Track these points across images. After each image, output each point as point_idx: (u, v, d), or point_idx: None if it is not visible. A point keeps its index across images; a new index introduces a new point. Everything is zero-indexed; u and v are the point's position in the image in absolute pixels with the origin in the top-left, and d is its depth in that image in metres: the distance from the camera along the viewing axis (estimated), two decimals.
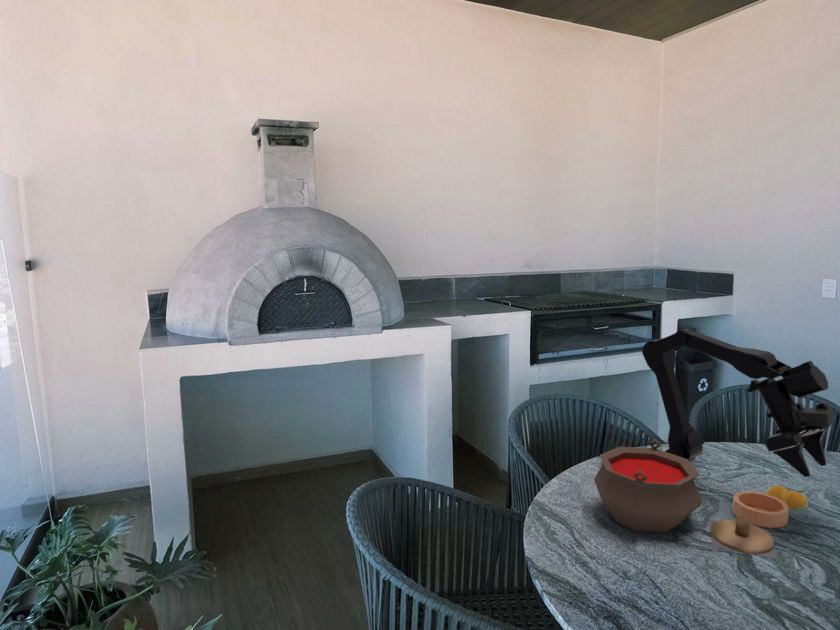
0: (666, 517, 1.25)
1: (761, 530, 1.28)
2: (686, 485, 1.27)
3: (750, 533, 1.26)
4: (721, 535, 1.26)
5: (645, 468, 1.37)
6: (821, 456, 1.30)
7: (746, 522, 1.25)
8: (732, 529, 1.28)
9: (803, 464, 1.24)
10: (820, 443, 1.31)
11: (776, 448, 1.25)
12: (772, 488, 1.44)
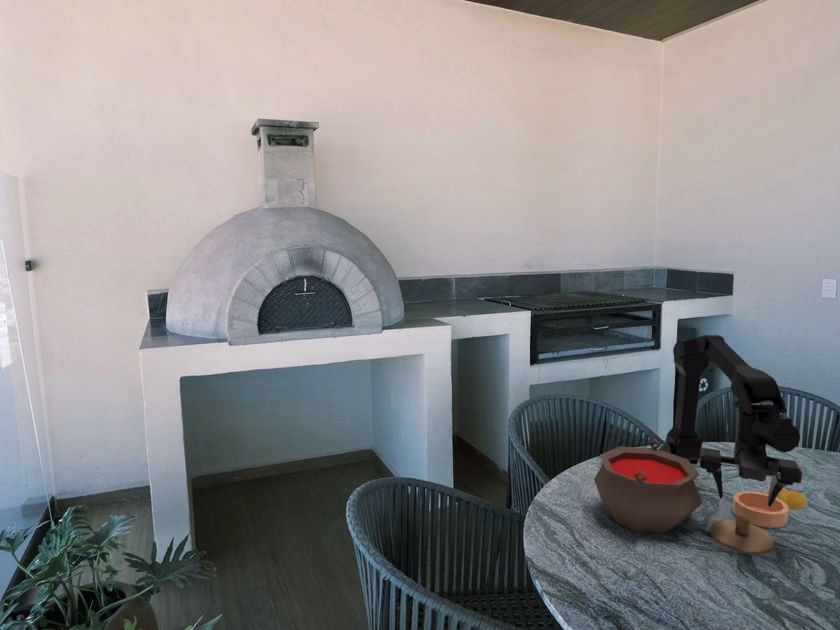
0: (666, 517, 1.25)
1: (761, 530, 1.28)
2: (686, 485, 1.27)
3: (750, 533, 1.26)
4: (721, 535, 1.26)
5: (645, 468, 1.37)
6: (769, 498, 1.23)
7: (746, 522, 1.25)
8: (732, 529, 1.28)
9: (717, 487, 1.26)
10: (775, 489, 1.21)
11: (699, 459, 1.28)
12: None
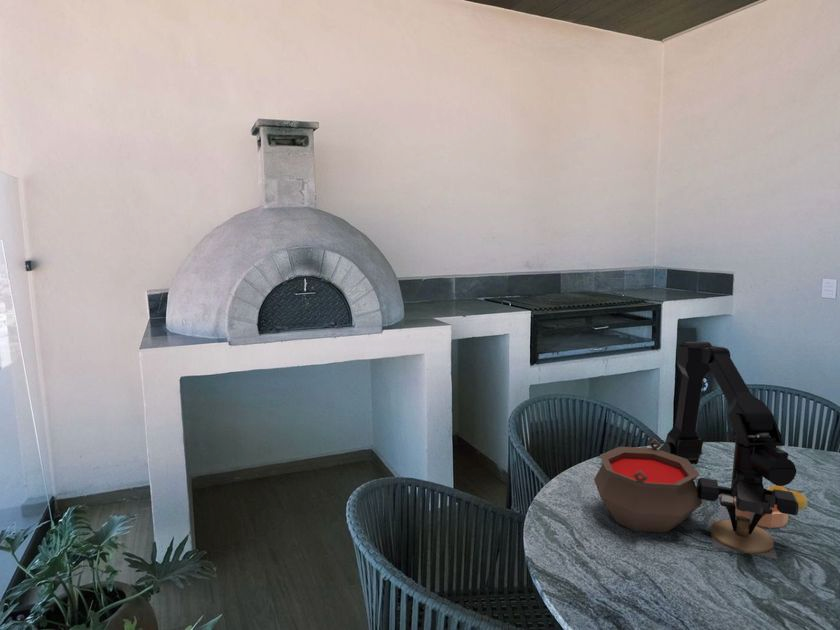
0: (666, 517, 1.25)
1: (761, 530, 1.28)
2: (686, 485, 1.27)
3: None
4: (721, 535, 1.26)
5: (645, 468, 1.37)
6: (750, 526, 1.25)
7: (746, 522, 1.25)
8: (732, 529, 1.28)
9: None
10: (755, 517, 1.23)
11: (697, 489, 1.29)
12: (771, 488, 1.44)
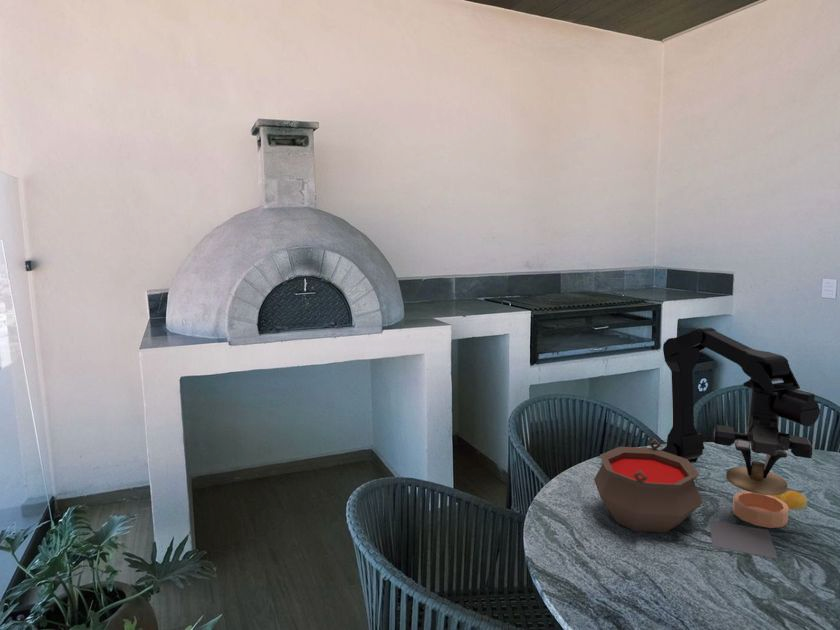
0: (666, 517, 1.25)
1: (775, 475, 1.32)
2: (686, 485, 1.27)
3: (765, 478, 1.31)
4: (736, 479, 1.30)
5: (645, 468, 1.37)
6: (764, 470, 1.30)
7: (761, 466, 1.29)
8: (747, 474, 1.33)
9: None
10: (770, 461, 1.28)
11: None
12: None
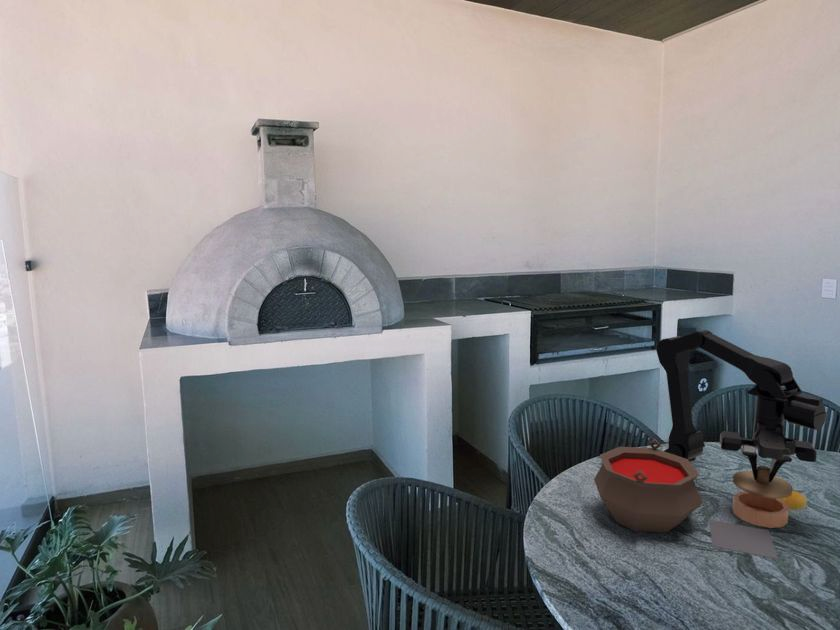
0: (666, 517, 1.25)
1: (780, 479, 1.36)
2: (686, 485, 1.27)
3: None
4: (743, 483, 1.34)
5: (645, 468, 1.37)
6: (770, 474, 1.34)
7: (767, 470, 1.33)
8: (753, 478, 1.37)
9: (752, 469, 1.35)
10: (775, 465, 1.32)
11: (720, 441, 1.38)
12: None
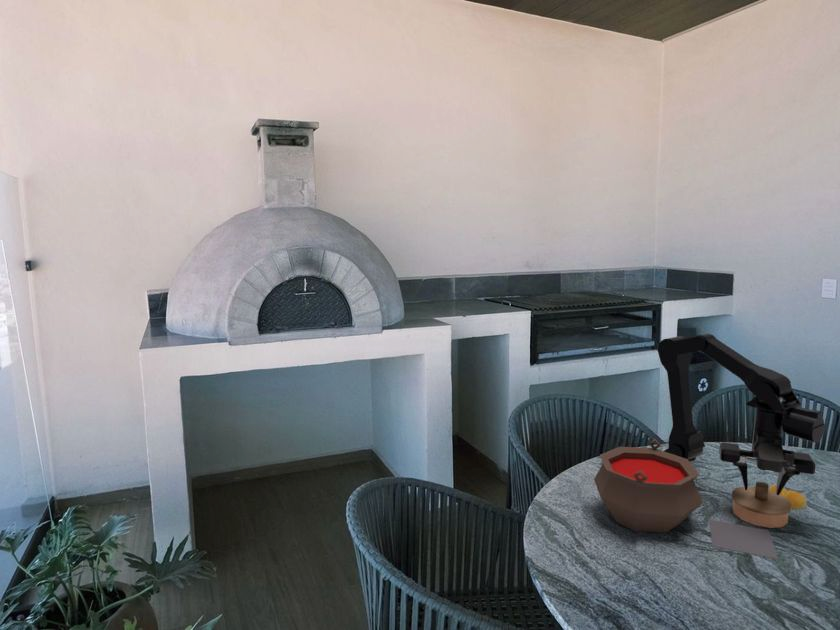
0: (666, 517, 1.25)
1: (779, 495, 1.37)
2: (686, 485, 1.27)
3: (769, 498, 1.36)
4: (742, 499, 1.35)
5: (645, 468, 1.37)
6: (778, 487, 1.33)
7: (765, 487, 1.34)
8: (752, 494, 1.37)
9: None
10: (783, 478, 1.32)
11: (719, 453, 1.39)
12: (771, 488, 1.45)
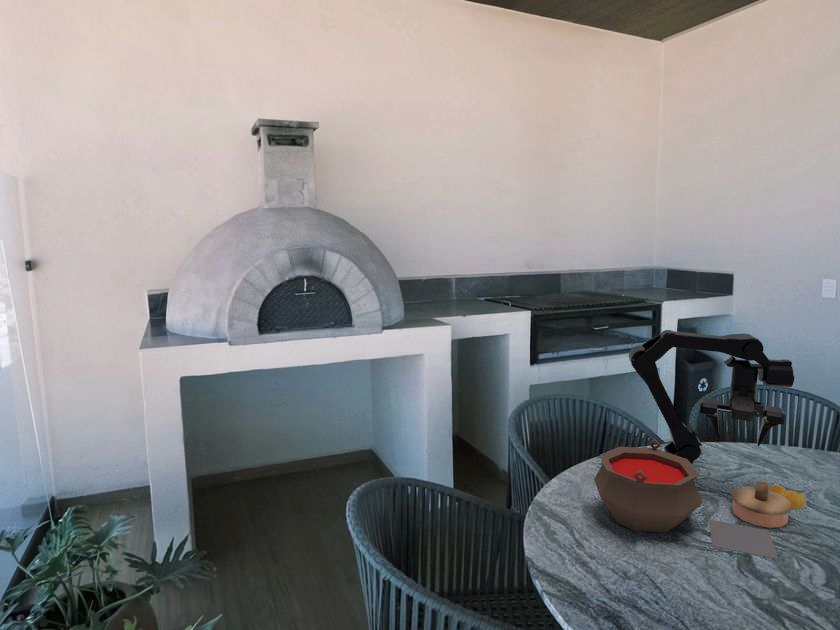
0: (666, 517, 1.25)
1: (779, 495, 1.37)
2: (686, 485, 1.27)
3: (769, 498, 1.36)
4: (742, 499, 1.35)
5: (645, 468, 1.37)
6: (758, 439, 1.46)
7: (765, 487, 1.34)
8: (752, 494, 1.37)
9: (714, 429, 1.50)
10: (763, 430, 1.45)
11: None
12: (770, 488, 1.45)
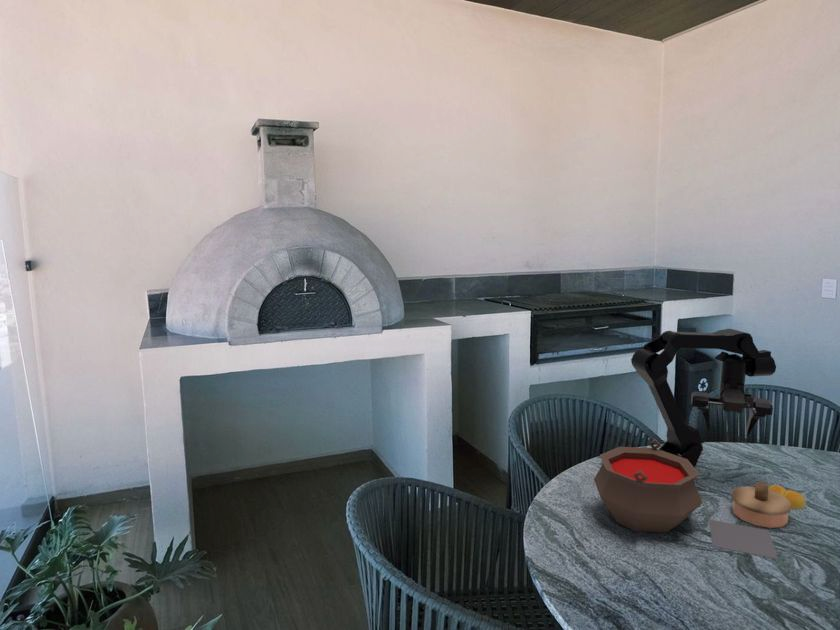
0: (666, 517, 1.25)
1: (779, 495, 1.37)
2: (686, 485, 1.27)
3: (769, 498, 1.36)
4: (742, 499, 1.35)
5: (645, 468, 1.37)
6: (747, 429, 1.52)
7: (765, 487, 1.34)
8: (752, 494, 1.37)
9: None
10: (752, 421, 1.51)
11: (691, 400, 1.58)
12: (770, 488, 1.45)
